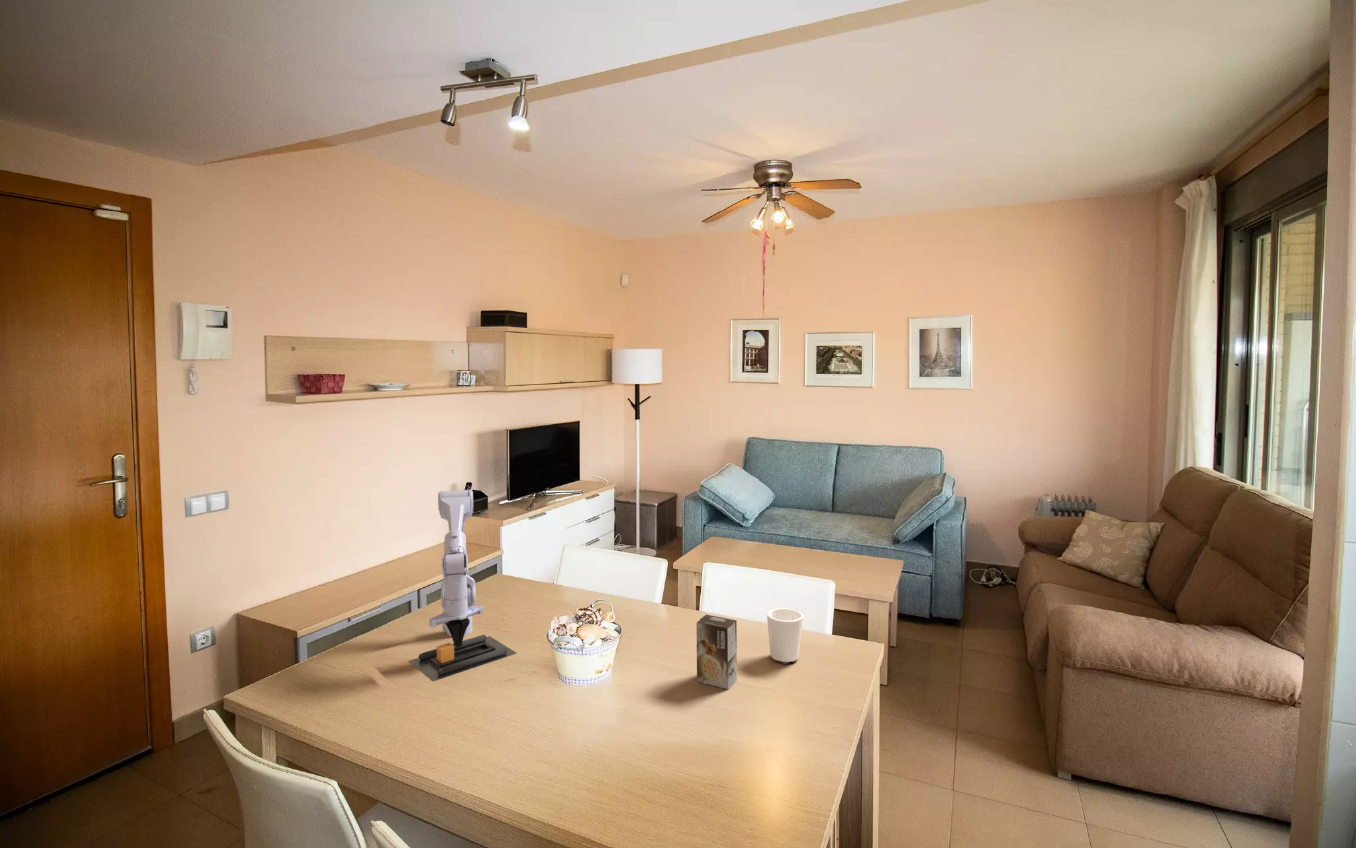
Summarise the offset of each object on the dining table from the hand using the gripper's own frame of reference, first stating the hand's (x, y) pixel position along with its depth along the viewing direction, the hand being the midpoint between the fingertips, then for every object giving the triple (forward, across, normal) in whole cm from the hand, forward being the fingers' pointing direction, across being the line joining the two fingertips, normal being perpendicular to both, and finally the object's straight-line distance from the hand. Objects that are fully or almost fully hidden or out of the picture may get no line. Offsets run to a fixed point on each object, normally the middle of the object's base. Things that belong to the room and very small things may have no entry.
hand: (457, 645), depth 184 cm
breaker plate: (+5, +1, 0) cm, 5 cm away
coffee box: (+5, +45, -55) cm, 71 cm away
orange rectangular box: (+4, -4, 0) cm, 5 cm away
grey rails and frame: (+4, +1, 0) cm, 4 cm away
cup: (+5, +68, -59) cm, 90 cm away
